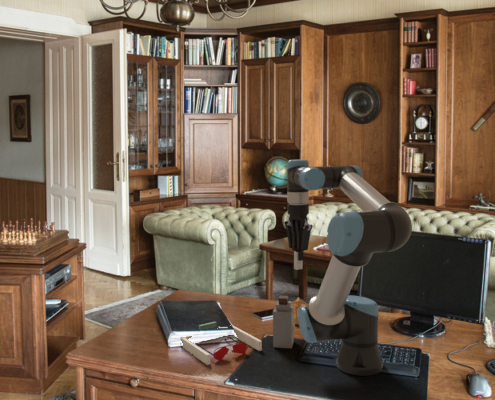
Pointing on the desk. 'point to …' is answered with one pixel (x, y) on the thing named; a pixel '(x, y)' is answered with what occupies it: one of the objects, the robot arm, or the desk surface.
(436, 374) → the desk surface
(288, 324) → the perfume bottle
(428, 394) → the desk surface
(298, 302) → the figurine
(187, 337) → the display cradle
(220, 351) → the glasses
